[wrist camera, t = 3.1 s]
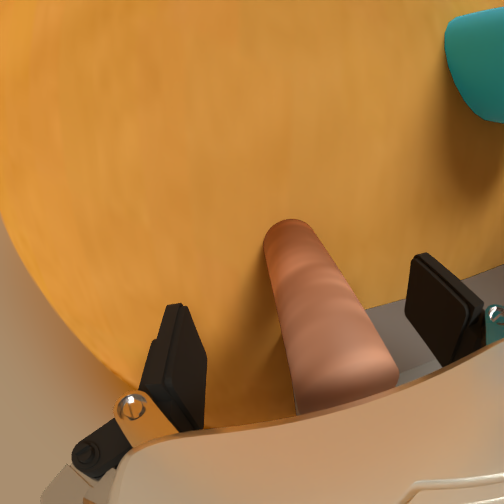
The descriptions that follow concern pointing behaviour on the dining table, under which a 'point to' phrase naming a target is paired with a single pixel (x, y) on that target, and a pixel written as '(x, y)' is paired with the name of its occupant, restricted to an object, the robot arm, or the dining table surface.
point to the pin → (323, 323)
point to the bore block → (407, 338)
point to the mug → (478, 61)
